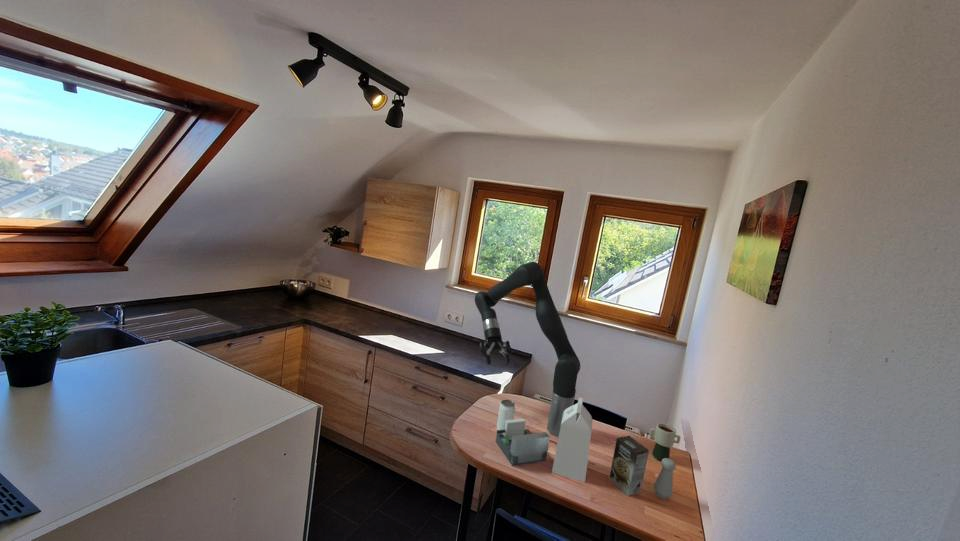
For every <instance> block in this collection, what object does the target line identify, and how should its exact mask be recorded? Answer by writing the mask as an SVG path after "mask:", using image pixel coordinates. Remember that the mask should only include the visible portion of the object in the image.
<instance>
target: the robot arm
mask: <svg viewBox="0 0 960 541" xmlns="http://www.w3.org/2000/svg"><path fill="white" fill-rule="evenodd" d="M527 286H532V289H533V291H534V295H535V317H536V320H537V323H538V324H539V327H540V330H541V332H542V333H543V335H544V336H545V337H546V339H547V340H548V341H549V343H551V345H552V347H553V349H554V351H555V355H556V357H557V362H556V364H555V367H554V371H553V372H554V373H553V374H554V375H553V381H552V393H551V400H550V401H551V402H550V407H549V408H550V409H549V413H548V421H547V426H546V430H547V431H548V432H549V433H550V434H551V435H553V436H556V437H559V432H560V427H561V422H562V417H563V413H564V410H565V409H567V408H569V407H571V406H573V405H575V404H574V403H575V398H576V392H577V389H576V387H577V380H578V374H579V372H580V370H581V363H580V362H581V361H580V359H579V357H578V356H577V354H576V352H575V350H574V348H573V346H572V344H571V342H570V340H569V338H568V334H567V332H566V328H565V326H564V324H563V321H562V319H561V316H560V313H559V310H558V309H557V308H556V305H555V303H554V300H553V297H552V295H551V292H550V290H549V286H548V282H547V280H546V276H545V273H544V270H543V269H542V266H541V265H540V264H539V263H538V262H536V261H530V262H527V263H523V264H520V265H519V266H518V267H517V268H516V269H514V271H513V272H511V274H510V275H508V276H507V277H506V278H504V279H503V280H501V281H499V282H497V283H496V284H495V285H493V286H491V287H490V288H489V289H488V290H487V291H480V290H479V291H477V292H476V293H475V295H474V303H475V307H476V308H477V310H478V312H479V314H480V316H481V321H482V322H481V323H482V330H483V334H484V339H485V341H484V340H481V341H480V343H479V352H480V356H482V357H483V356H484V357H485V362H486V364H487V365H490V366H491V364H492V360H491V355H490V353H491V352H492V353H495V352H497V353H500V354H502V355H503V359H504V364H505V365H508V364H510V360H511V359H510V357H509V356H510V355H511V354H512V353H513V351H512V346H511V345H510V341H509V340H507V341H503V340H502V339H503V338H502V332H501V328H500V324H499V321H498V317H497V312H496V310H495V309H494V308H493V307H495V306H496V305H497V304H498V302H500V301H501V300H502V299H504V298H505V297H507V296H508V295H510V294H511V293H512V292H513V291H514V290H517V289H520V288H523V287H527ZM486 347H487V350H486V349H485V348H486Z"/></svg>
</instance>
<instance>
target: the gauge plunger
mask: <svg viewBox="0 0 960 541" xmlns="http://www.w3.org/2000/svg"><path fill="white" fill-rule="evenodd" d="M525 429H526V420H525V418H524V417H523V418H514V419H512V420H505V427H504V430H497V429H496V435H497V434H498V433H502V434H503V433H504V434H503V435H504V436H505V438H506V439H507V440H508V441H509V440H512V436H518V435H524V430H525Z"/></svg>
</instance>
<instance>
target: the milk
mask: <svg viewBox="0 0 960 541" xmlns="http://www.w3.org/2000/svg"><path fill="white" fill-rule="evenodd" d="M583 399H584V398H583V397H578V401H577V403H575V404H574V405H573V406H571V407H569V408H567V409H565V410H564V413H563V417H562V422H561V427H560V432H559V436H558V437H557V438H558V439H557V442H556V443H557V444H556V448H555V454H554V459H553V464H552V469H551V473H552V474H556V475H559V476H563V477H566V478H570V479H573V480H577V481H579V482H582V483H585V482H586V477H587V469H588V462H589V454H590V447H591V446H590V444H591V439H592V428H593V417H592V415H591V414H590V412H589V411H588V410H587V408H586V407H585V406H584V405H583V401H584V400H583Z"/></svg>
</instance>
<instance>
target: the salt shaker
mask: <svg viewBox="0 0 960 541" xmlns="http://www.w3.org/2000/svg"><path fill="white" fill-rule="evenodd" d="M660 464H661V466H662V467H661V469H660V472H659V473H658V476H657V478H656V479H655V482H654V483H653V489H654V493H655V495H656V496H657V497H658V498H659V499H662V500H668V499H670V497H671V496H672V495H673V493H674V492H673V489H674V488H673V485H674V484H673V479H674V472H673V471H675V470H676V462H675V461H674V460H673V459H670V458H669V459H668V458H664V459H662V461H661V463H660Z"/></svg>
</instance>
